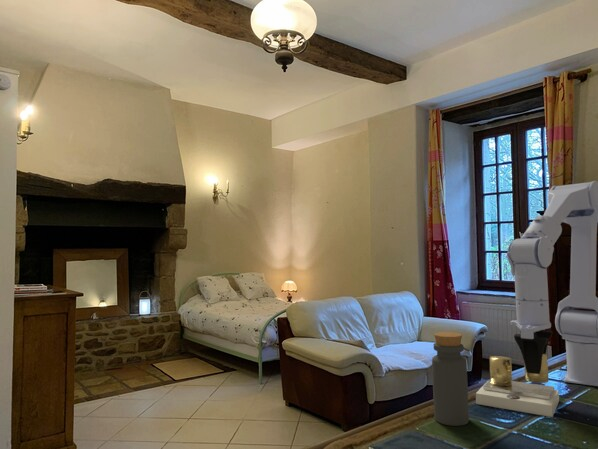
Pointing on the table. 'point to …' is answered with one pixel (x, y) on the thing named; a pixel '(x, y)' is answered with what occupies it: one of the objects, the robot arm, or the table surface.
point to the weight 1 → (500, 371)
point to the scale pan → (522, 389)
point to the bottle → (450, 380)
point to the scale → (518, 402)
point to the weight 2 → (543, 373)
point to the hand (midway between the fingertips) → (535, 370)
